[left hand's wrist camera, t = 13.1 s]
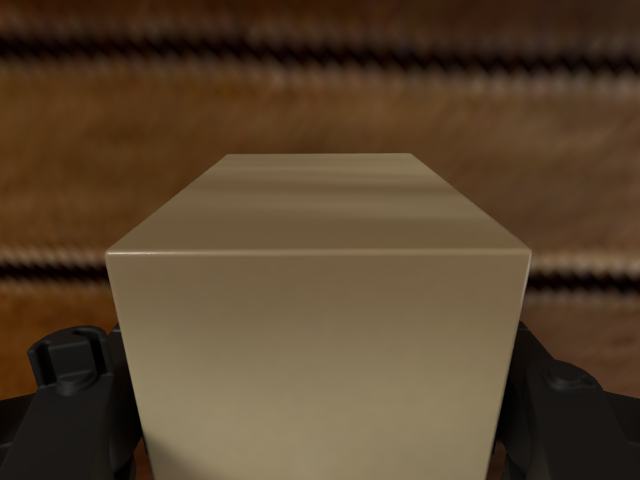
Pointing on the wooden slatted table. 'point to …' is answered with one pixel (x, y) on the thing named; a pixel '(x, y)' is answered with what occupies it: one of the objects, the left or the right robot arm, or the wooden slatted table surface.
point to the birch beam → (319, 322)
